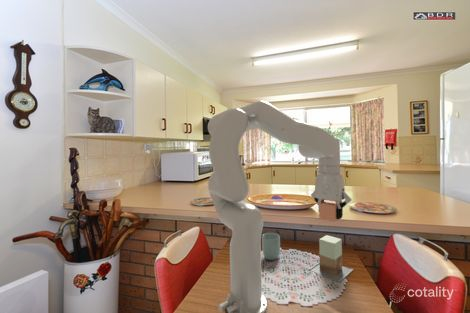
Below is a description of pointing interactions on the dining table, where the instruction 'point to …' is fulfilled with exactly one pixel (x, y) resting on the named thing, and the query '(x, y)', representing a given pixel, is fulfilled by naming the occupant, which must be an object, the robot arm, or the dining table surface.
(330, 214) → the terracotta brick
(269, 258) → the cup
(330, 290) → the dining table surface
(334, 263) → the walnut brick
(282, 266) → the dining table surface
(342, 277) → the plate
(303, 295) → the dining table surface
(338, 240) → the sage brick
